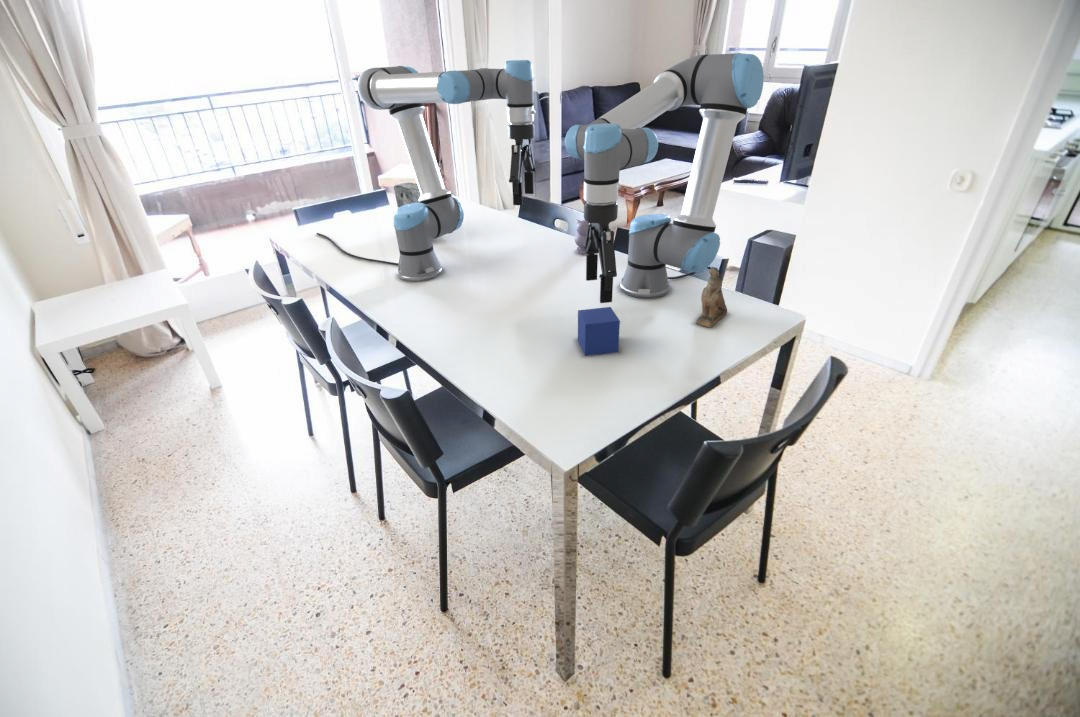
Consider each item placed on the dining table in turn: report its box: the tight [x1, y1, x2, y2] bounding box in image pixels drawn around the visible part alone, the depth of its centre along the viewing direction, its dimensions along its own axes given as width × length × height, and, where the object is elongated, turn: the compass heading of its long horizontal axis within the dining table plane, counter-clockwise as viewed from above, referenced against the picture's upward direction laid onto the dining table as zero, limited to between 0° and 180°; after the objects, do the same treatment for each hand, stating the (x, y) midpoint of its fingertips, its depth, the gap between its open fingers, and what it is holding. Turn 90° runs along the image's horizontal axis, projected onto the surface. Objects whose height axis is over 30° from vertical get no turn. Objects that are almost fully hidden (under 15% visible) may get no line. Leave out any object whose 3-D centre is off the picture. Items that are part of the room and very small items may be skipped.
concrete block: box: [393, 182, 421, 208], centre depth 208 cm, size 27×9×20 cm, turn 36°
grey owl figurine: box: [574, 219, 588, 256], centre depth 186 cm, size 8×8×12 cm
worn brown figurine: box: [695, 266, 728, 328], centre depth 135 cm, size 12×6×18 cm, turn 136°
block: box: [577, 306, 621, 357], centre depth 126 cm, size 9×8×9 cm
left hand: (523, 199), depth 152 cm, fingers open, 13 cm apart
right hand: (598, 290), depth 121 cm, fingers open, 13 cm apart
